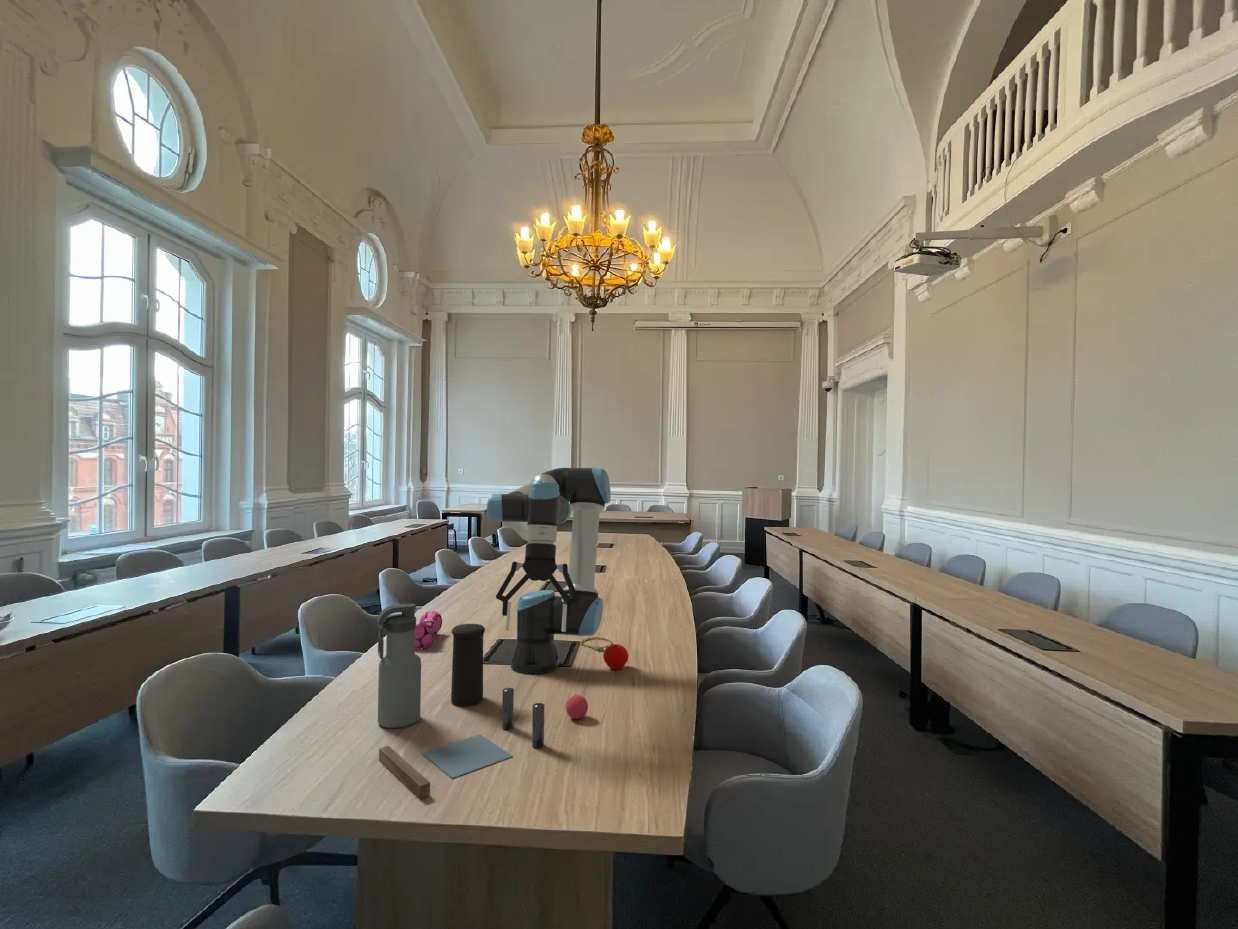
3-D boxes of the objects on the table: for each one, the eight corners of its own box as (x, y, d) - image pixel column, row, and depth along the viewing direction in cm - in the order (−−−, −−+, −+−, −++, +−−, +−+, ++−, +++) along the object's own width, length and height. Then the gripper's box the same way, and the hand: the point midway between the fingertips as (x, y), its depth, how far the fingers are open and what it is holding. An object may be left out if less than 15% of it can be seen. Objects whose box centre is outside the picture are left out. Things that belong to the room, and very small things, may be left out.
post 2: (539, 742, 134) (540, 702, 134) (546, 746, 132) (546, 705, 132) (529, 745, 132) (530, 705, 132) (536, 749, 130) (537, 708, 131)
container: (490, 697, 161) (491, 622, 161) (471, 709, 153) (472, 631, 153) (462, 692, 164) (464, 620, 164) (443, 704, 155) (444, 627, 156)
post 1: (509, 724, 143) (509, 687, 144) (515, 728, 141) (515, 690, 142) (500, 727, 142) (500, 689, 142) (505, 731, 140) (506, 692, 140)
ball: (578, 711, 152) (578, 690, 152) (592, 718, 147) (592, 696, 148) (561, 717, 148) (561, 695, 148) (574, 724, 144) (575, 701, 144)
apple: (604, 663, 190) (604, 640, 191) (628, 664, 190) (629, 641, 190) (601, 672, 182) (602, 648, 183) (627, 673, 182) (627, 648, 182)
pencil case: (436, 650, 203) (437, 621, 204) (406, 651, 202) (407, 621, 202) (444, 633, 224) (444, 607, 225) (417, 634, 223) (418, 608, 223)
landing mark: (479, 735, 137) (479, 734, 137) (512, 757, 127) (512, 756, 127) (421, 754, 128) (421, 753, 128) (452, 779, 118) (452, 778, 118)
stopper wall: (388, 757, 126) (388, 745, 126) (429, 796, 111) (430, 782, 111) (378, 760, 125) (379, 748, 125) (419, 799, 110) (419, 786, 110)
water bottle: (377, 733, 138) (380, 612, 138) (373, 717, 147) (375, 603, 147) (423, 725, 143) (425, 608, 143) (416, 710, 151) (418, 600, 152)
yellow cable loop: (579, 653, 203) (579, 647, 203) (581, 640, 219) (581, 634, 219) (614, 653, 203) (614, 647, 203) (614, 640, 219) (614, 635, 219)
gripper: (489, 539, 143) (482, 631, 139) (592, 544, 147) (588, 633, 143) (490, 541, 150) (484, 628, 146) (588, 546, 154) (584, 630, 150)
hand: (535, 630), depth 145 cm, fingers open, 13 cm apart
